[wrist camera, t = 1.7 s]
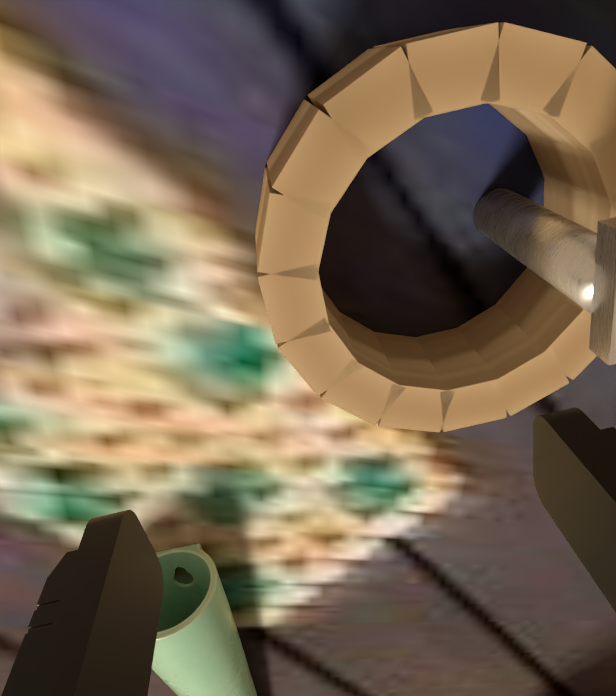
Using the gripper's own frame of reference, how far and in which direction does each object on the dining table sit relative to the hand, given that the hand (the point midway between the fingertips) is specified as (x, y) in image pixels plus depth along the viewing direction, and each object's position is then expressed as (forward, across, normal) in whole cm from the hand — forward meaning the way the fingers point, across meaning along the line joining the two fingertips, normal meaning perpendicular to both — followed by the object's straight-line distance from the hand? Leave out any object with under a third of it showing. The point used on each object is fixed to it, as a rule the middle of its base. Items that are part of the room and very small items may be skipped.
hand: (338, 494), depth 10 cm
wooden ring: (+13, -6, 0) cm, 15 cm away
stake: (+13, -9, 0) cm, 16 cm away
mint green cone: (+14, +10, +28) cm, 33 cm away
